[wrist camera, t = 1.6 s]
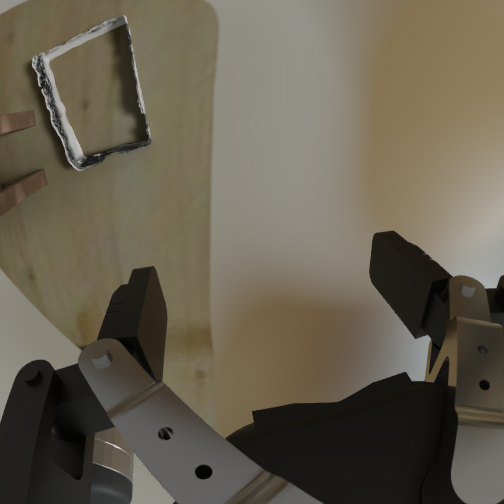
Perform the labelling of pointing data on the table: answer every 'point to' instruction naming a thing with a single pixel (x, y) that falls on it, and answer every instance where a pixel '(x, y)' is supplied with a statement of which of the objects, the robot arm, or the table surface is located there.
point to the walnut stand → (24, 187)
